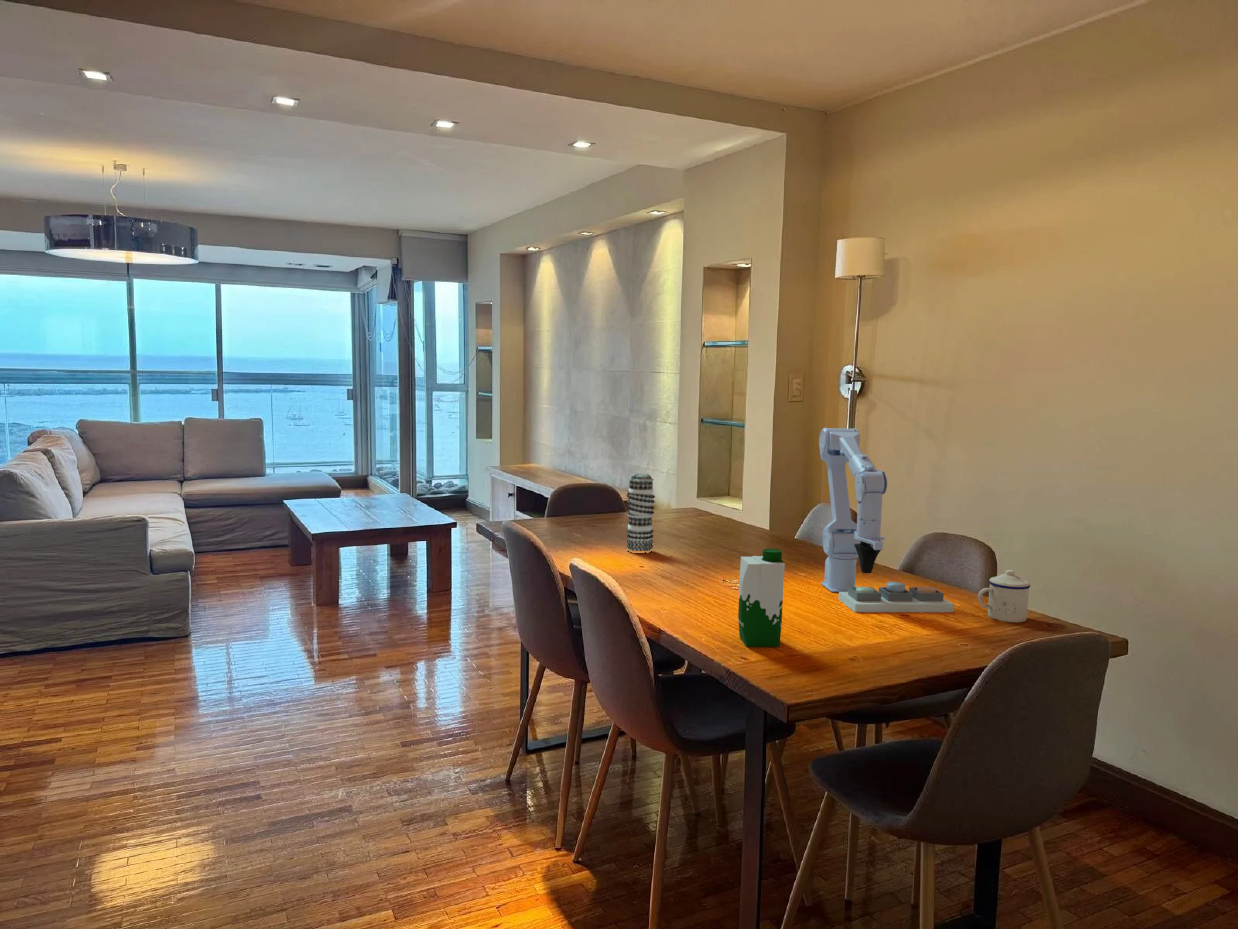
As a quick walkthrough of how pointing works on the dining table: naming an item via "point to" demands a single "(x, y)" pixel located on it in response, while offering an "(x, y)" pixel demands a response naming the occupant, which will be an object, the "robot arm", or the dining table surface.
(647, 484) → the decorative candle
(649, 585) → the dining table surface
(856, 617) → the dining table surface
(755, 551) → the dining table surface
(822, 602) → the dining table surface
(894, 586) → the dusty blue button
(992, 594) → the teacup with lid
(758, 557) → the milk carton
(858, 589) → the sage button
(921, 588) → the terracotta button
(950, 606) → the button console
